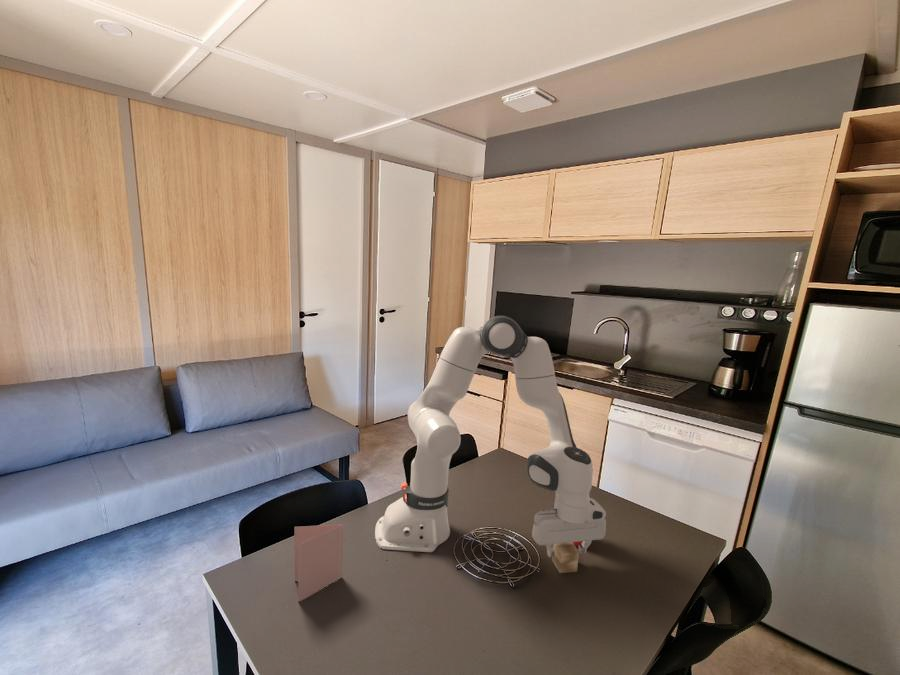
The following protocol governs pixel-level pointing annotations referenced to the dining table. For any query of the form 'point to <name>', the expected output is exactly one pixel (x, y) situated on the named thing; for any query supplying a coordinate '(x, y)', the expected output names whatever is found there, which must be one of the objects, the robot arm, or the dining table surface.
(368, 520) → the dining table surface
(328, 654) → the dining table surface
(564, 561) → the oak block
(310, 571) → the greeting card
